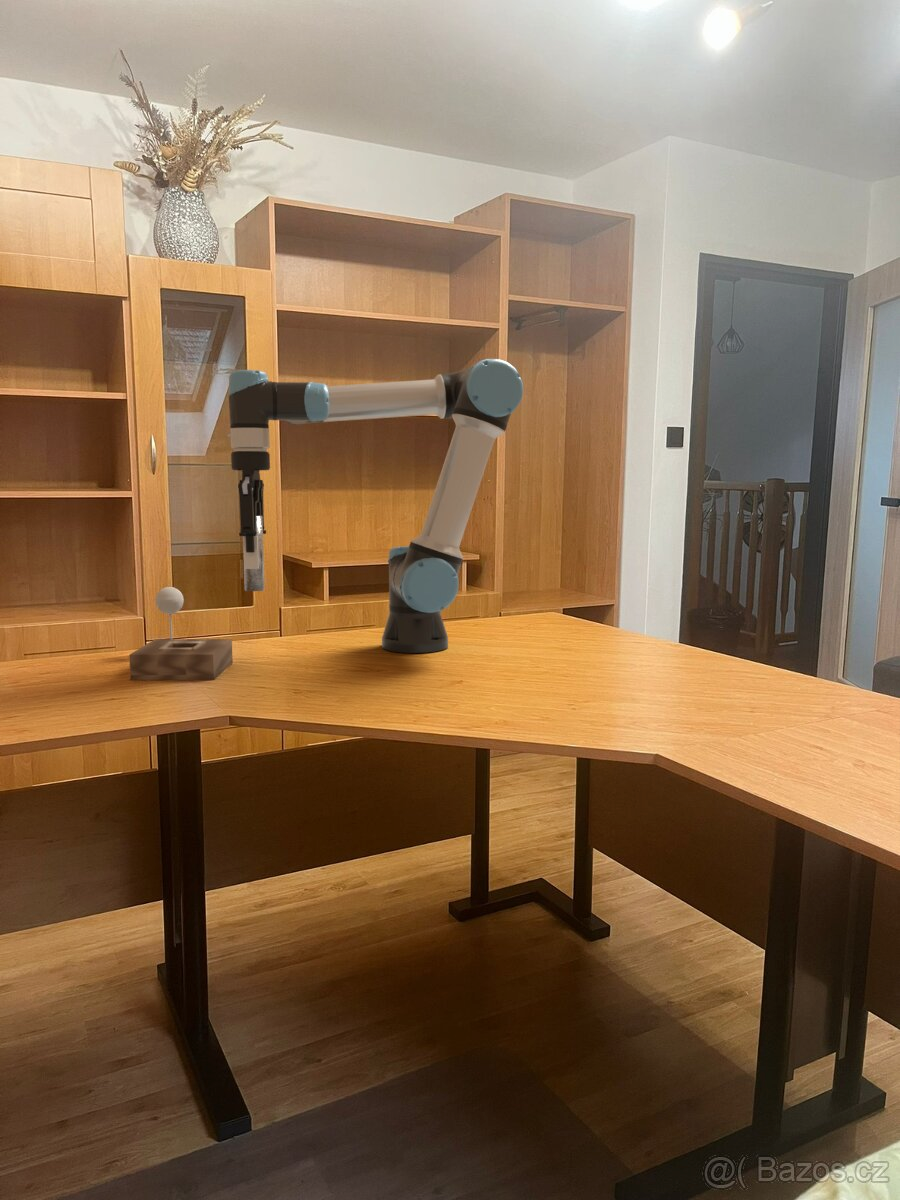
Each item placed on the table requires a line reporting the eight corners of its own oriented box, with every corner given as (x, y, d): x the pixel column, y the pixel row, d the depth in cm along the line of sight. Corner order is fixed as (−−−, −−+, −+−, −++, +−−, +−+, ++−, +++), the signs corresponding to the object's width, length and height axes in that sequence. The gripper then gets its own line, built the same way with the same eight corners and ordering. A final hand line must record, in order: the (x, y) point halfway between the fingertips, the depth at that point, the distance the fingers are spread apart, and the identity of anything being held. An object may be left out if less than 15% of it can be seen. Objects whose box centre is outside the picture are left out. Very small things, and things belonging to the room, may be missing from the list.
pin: (266, 588, 185) (264, 515, 183) (262, 591, 181) (260, 516, 179) (246, 588, 185) (244, 515, 183) (242, 591, 181) (240, 516, 179)
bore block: (232, 662, 189) (231, 637, 188) (214, 679, 173) (213, 652, 173) (156, 662, 189) (155, 637, 188) (130, 680, 173) (129, 653, 172)
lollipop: (180, 657, 194) (177, 588, 192) (153, 657, 194) (150, 588, 192) (189, 652, 200) (186, 585, 198) (163, 652, 200) (160, 585, 198)
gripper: (240, 451, 187) (244, 563, 191) (221, 449, 171) (225, 572, 174) (276, 451, 188) (279, 563, 191) (260, 449, 171) (264, 572, 174)
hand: (254, 567), depth 182 cm, fingers closed on pin, 4 cm apart
